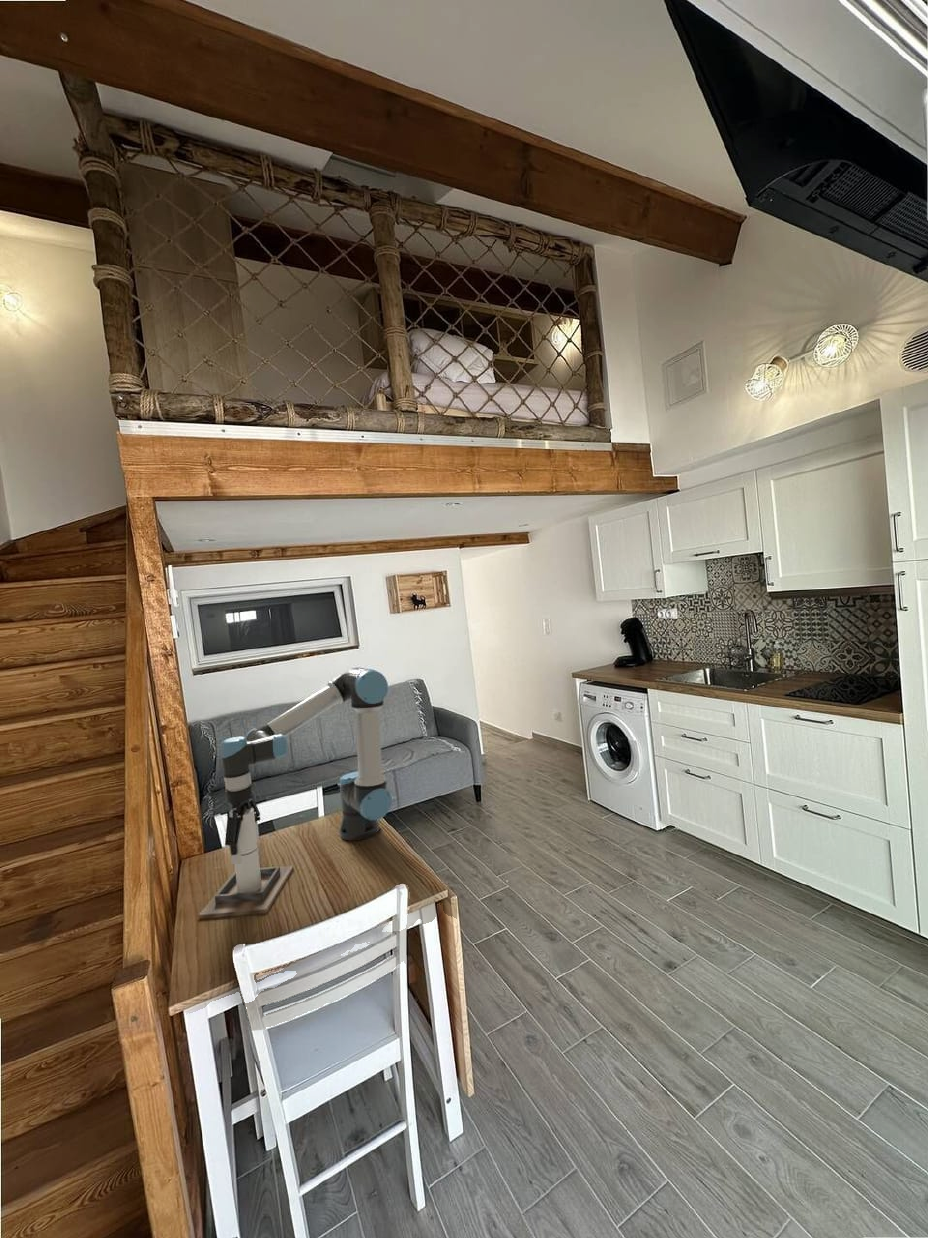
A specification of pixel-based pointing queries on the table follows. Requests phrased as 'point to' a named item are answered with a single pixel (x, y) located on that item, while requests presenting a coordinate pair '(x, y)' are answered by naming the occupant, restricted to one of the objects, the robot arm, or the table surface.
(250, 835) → the cylindrical container
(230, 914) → the board
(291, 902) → the table surface
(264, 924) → the table surface
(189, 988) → the table surface
